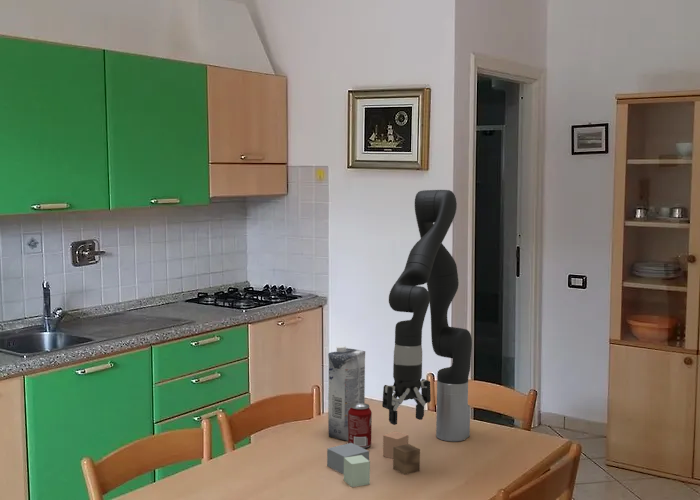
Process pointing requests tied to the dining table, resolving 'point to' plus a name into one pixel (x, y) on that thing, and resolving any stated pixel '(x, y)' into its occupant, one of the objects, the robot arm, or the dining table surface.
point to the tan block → (393, 442)
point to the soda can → (359, 425)
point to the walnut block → (406, 459)
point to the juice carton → (344, 388)
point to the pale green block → (356, 471)
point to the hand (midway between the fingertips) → (406, 421)
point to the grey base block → (343, 455)
